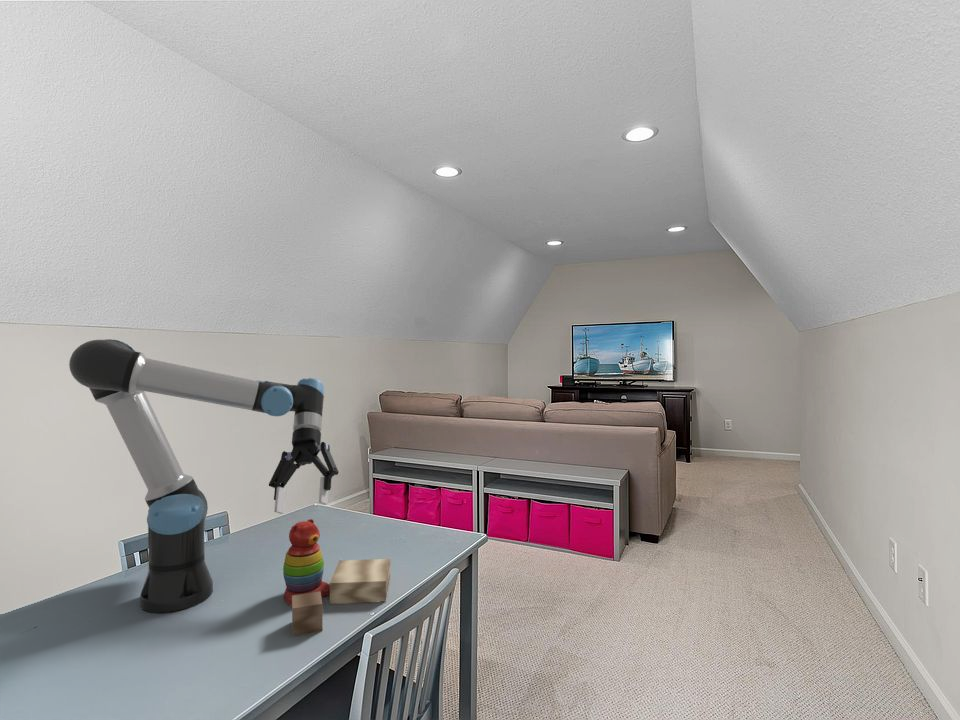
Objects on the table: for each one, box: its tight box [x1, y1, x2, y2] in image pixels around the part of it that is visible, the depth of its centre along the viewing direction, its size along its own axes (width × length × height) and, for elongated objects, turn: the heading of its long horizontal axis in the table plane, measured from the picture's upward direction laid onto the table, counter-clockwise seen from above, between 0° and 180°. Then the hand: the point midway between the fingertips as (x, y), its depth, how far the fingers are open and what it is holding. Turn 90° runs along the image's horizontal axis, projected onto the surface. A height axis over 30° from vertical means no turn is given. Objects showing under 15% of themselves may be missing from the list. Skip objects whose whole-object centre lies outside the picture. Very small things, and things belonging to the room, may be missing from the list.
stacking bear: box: [282, 518, 330, 607], centre depth 128 cm, size 11×10×18 cm
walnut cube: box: [291, 591, 323, 637], centre depth 113 cm, size 6×6×6 cm
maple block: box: [329, 558, 391, 605], centre depth 130 cm, size 13×13×5 cm
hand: (300, 508), depth 135 cm, fingers open, 13 cm apart
